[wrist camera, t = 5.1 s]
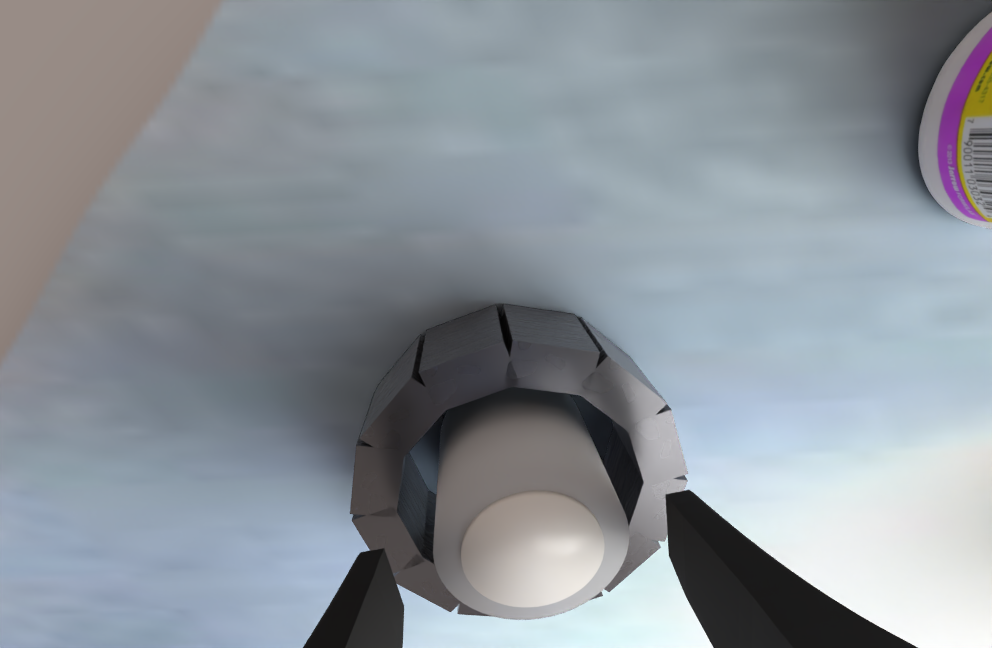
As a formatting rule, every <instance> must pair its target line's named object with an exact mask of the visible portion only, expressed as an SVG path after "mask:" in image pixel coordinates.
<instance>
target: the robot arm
mask: <svg viewBox="0 0 992 648" xmlns="http://www.w3.org/2000/svg"><path fill="white" fill-rule="evenodd" d="M665 498H666V515H667V531H668V548H669V557H670V559H671V562H672V564H673V567H674V569H675V572H676V574H677V576H678V579H679V581H680V584H681V586H682V588H683V591H684V593H685V595H686V597H687V599H688V601H689V603H690V605H691V607H692V609H693V611H694V612H695V614H696V616H697V618H698V620H699V622H700V623H701V625H702V627H703V629H704V631H705V633H706V635H707V636H708V638H709V640H710V642H711V644H712V645H713V647H714V648H917V647H916V646H914V645H912V644H910V643H908V642H906V641H904V640H903V639H901V638H899V637H897V636H895V635H893V634H892V633H890V632H888V631H886V630H884V629H882V628H880V627H879V626H877V625H875V624H873V623H872V622H870V621H868V620H866V619H865V618H863V617H861V616H859V615H858V614H856V613H854V612H853V611H851V610H850V609H848V608H846V607H845V606H843V605H842V604H840V603H838V602H837V601H835V600H834V599H832V598H830V597H829V596H827V595H826V594H824V593H823V592H821V591H820V590H818V589H817V588H815V587H814V586H812V585H811V584H809V583H808V582H806V581H805V580H803V579H802V578H801V577H799V576H798V575H796V574H795V573H794V572H792V571H791V570H789V569H788V568H786V567H785V566H784V565H782V564H781V563H780V562H778V561H777V560H776V559H774V558H773V557H771V556H770V555H769V554H768V553H766V552H765V551H764V550H762V549H761V548H760V547H758V546H757V545H756V544H755V543H753V542H752V541H751V540H749V539H748V538H747V537H746V536H744V535H743V534H742V533H741V532H739V531H738V530H737V529H736V528H734V527H733V526H732V525H731V524H730V523H728V522H727V521H726V520H725V519H724V518H722V517H721V516H720V515H719V514H718V513H716V512H715V511H714V510H713V509H712V508H711V507H709V506H708V505H707V504H706V503H705V502H704V501H702V500H701V499H700V498H699V497H698V496H697V495H695V494H694V493H693V492H692V491H690V490H686V491H680V492H675V493H670V494H665ZM403 622H404V605H403V602H402V599H401V596H400V593H399V590H398V587H397V584H396V581H395V578H394V575H393V572H392V569H391V567H390V564H389V561H388V558H387V555H386V552H385V549H384V548H382V549H377V550H371V551H366V552H361V553H360V554H359V555H358V557H357V558H356V560H355V562H354V563H353V565H352V567H351V569H350V570H349V572H348V574H347V576H346V577H345V579H344V581H343V583H342V584H341V586H340V588H339V590H338V591H337V593H336V595H335V596H334V598H333V600H332V602H331V603H330V605H329V607H328V608H327V610H326V612H325V613H324V615H323V616H322V618H321V620H320V621H319V623H318V624H317V626H316V628H315V629H314V631H313V633H312V634H311V636H310V637H309V639H308V640H307V642H306V644H305V645H304V647H303V648H402V645H403Z"/></svg>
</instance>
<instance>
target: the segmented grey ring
mask: <svg viewBox="0 0 992 648" xmlns="http://www.w3.org/2000/svg"><path fill="white" fill-rule="evenodd" d="M510 387H519V388H527V389H534V390H542V391H550V392H558V393H566V394H574V395H581V396H582V397H583V398H585V399H586V400H587V401H589V402H590V403H591V404H593V405H594V406H595V407H596V408H598V409H599V410H600V411H602V412H603V413H604V414H606V415H607V416H608V417H610V418H611V420H612V423H613V426H614V427H613V430H612V433H611V437H610V440H609V444H608V447H607V450H606V454H605V457H604V460H603V465H604V467H605V470H606V472H607V474H608V476H609V478H610V481H611V483H612V485H613V487H614V490H615V492H616V494H617V496H618V499H619V501H620V503H621V505H622V508H623V510H624V512H625V514H626V518H627V521H628V525H629V546H628V550H627V554H626V557H625V559H624V562H623V564H622V566H621V568H620V569H619V571H618V573H617V574H616V576H615V577H614V578H613V580H612V581H611V582H610V583H609V584H608V585H607V586H606V587H605V588H604V589H605V590H607V591H608V592H610V591H611V590H612V589H613V588H615V587H616V586H617V585H618V584H619V583H620V582H621V581H623V580H624V579H625V578H626V577H627V576H628V575H629V574H631V573H632V572H633V571H634V570H635V569H636V568H637V567H639V566H640V565H641V564H642V563H643V562H644V561H645V560H647V559H648V558H649V557H650V556H651V555H652V554H653V553H655V552H656V551H657V550H658V549H659V548H660V545H659V543H658V541H665V540H666V537H667V534H668V531H667V515H666V498H665V494H670V493H675V492H680V491H684V489H685V486H686V484H687V481H688V480H687V479H686V477H685V476H684V475H686V474H688V471H687V468H686V464H685V460H684V456H683V453H682V449H681V445H680V441H679V437H678V434H677V430H676V426H675V422H674V418H673V415H672V411H671V409H670V408H669V406H668V405H667V403H666V401H665V400H664V399H663V398H662V396H661V395H660V394H659V393H658V391H657V390H656V389H655V388H654V386H653V385H652V384H651V383H650V381H649V380H648V379H647V377H646V376H645V375H644V374H643V372H642V371H641V370H640V369H639V367H638V366H637V365H636V364H635V362H634V361H633V360H632V359H631V358H630V357H629V356H628V355H627V354H626V353H624V352H623V351H622V350H621V349H619V348H618V347H617V346H616V345H615V344H613V343H612V342H611V341H610V340H608V339H607V338H606V337H605V336H604V335H602V334H601V333H600V332H599V331H598V330H596V329H595V328H594V327H593V326H591V325H590V324H589V323H588V322H587V321H585V320H584V319H583V318H582V317H581V318H580V319H579V320H578V319H577V317H576V316H575V314H569V313H563V312H556V311H549V310H542V309H535V308H528V307H522V306H515V305H508V304H503V307H502V313H501V318H500V315H499V313H498V310H497V307H496V305H493V306H490V307H488V308H485V309H482V310H479V311H477V312H474V313H471V314H469V315H466V316H463V317H460V318H458V319H455V320H452V321H450V322H447V323H444V324H441V325H439V326H436V327H433V328H431V329H428V330H426V335H425V337H423V336H422V335H421V334H420V335H419V336H418V338H417V339H416V340H415V341H414V342H413V344H412V345H411V346H410V347H409V348H408V350H407V351H406V352H405V353H404V354H403V356H402V357H401V358H400V359H399V360H398V362H397V363H396V364H395V365H394V366H393V368H392V369H391V370H390V371H389V372H388V374H387V375H386V376H385V377H384V378H383V380H382V381H381V382H380V383H379V384H378V386H377V388H376V391H375V392H374V395H373V398H372V401H371V404H370V407H369V410H368V413H367V416H366V419H365V422H364V425H363V428H362V430H361V433H360V436H359V439H358V442H357V445H356V455H355V466H354V477H353V488H352V499H351V510H350V514H353V518H352V522H353V523H354V525H355V527H356V528H357V530H358V532H359V533H360V535H361V536H362V538H363V540H364V541H365V543H366V545H367V546H368V548H369V549H370V551H371V550H377V549H382V548H384V549H385V552H386V555H387V558H388V561H389V564H390V567H391V569H392V572H393V575H394V578H395V581H396V584H398V585H400V586H402V587H404V588H406V589H408V590H410V591H412V592H413V593H415V594H417V595H419V596H421V597H423V598H425V599H427V600H428V601H430V602H432V603H434V604H436V605H438V606H440V607H442V608H444V609H445V610H447V611H449V612H451V611H452V610H453V609H454V608H455V607H457V606H458V614H464V615H479V616H490V615H487V614H484V613H481V612H479V611H477V610H474V609H472V608H470V607H469V606H467V605H465V604H464V603H462V602H461V601H460V600H458V599H457V598H456V597H454V596H453V594H452V593H451V592H450V591H449V590H448V589H447V588H446V587H445V585H444V584H443V582H442V581H441V579H440V577H439V575H438V573H437V570H436V567H435V563H434V557H433V542H434V527H435V512H436V496H437V495H435V494H433V493H432V492H430V491H428V489H427V487H426V485H425V483H424V481H423V479H422V477H421V475H420V473H419V471H418V470H417V468H416V466H415V464H414V462H413V460H412V458H411V456H410V454H409V451H410V450H411V449H412V448H413V447H414V446H415V444H416V443H417V442H418V441H419V440H420V439H421V438H422V437H423V435H424V434H425V433H426V432H427V431H428V430H429V429H430V428H431V426H432V425H433V424H434V423H435V422H436V421H437V420H438V419H439V417H440V416H441V415H442V414H443V413H444V412H445V411H446V410H448V409H451V408H454V407H457V406H459V405H462V404H465V403H468V402H471V401H473V400H476V399H479V398H482V397H485V396H487V395H490V394H493V393H496V392H499V391H501V390H504V389H507V388H510ZM600 596H603V595H602V592H600V593H598V594H597V595H596V596H595V597H593V598H592V599H594V598H597V597H600ZM590 600H591V599H590Z"/></svg>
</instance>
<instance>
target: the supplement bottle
mask: <svg viewBox="0 0 992 648" xmlns="http://www.w3.org/2000/svg"><path fill="white" fill-rule="evenodd" d="M918 154H919V163H920V168H921V172H922V176H923V178H924V181H925V184H926V186H927V188H928V190H929V192H930V193H931V195H932V196H933V197H934V199H935V200H936V201H937V203H938V204H939V205H940V206H942V207H943V208H944V209H945V210H946V211H947V212H948V213H950V214H951V215H953V216H954V217H956V218H958V219H960V220H962V221H964V222H966V223H969V224H972V225H975V226H979V227H984V228H989V229H992V12H990V13H989V14H988V15H987V16H986V17H985V18H983V19H982V20H981V21H980V22H979V23H978V24H977V25H976V26H975V27H974V28H973V29H972V30H971V31H970V32H969V33H968V34H967V35H966V36H965V38H964V39H963V40H962V41H961V42H960V43H959V45H958V46H957V47H956V48H955V50H954V51H953V52H952V54H951V55H950V56H949V58H948V59H947V61H946V62H945V64H944V65H943V67H942V69H941V71H940V72H939V74H938V76H937V79H936V81H935V83H934V86H933V88H932V90H931V92H930V95H929V97H928V100H927V103H926V106H925V109H924V113H923V117H922V121H921V125H920V130H919V142H918Z"/></svg>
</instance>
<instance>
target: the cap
mask: <svg viewBox="0 0 992 648" xmlns="http://www.w3.org/2000/svg"><path fill="white" fill-rule="evenodd" d="M628 546H629V525H628V521H627V518H626V514H625V512H624V510H623V508H622V505H621V503H620V501H619V499H618V496H617V494H616V492H615V490H614V487H613V485H612V483H611V481H610V478H609V476H608V474H607V472H606V470H605V467H604V465H603V463H602V461H601V458H600V456H599V454H598V452H597V449H596V447H595V445H594V443H593V440H592V438H591V436H590V434H589V431H588V429H587V427H586V425H585V422H584V420H583V418H582V416H581V413H580V411H579V409H578V407H577V405H576V403H575V402H574V400H573V399H572V397H571V396H570V395H569V394H566V393H558V392H550V391H542V390H534V389H527V388H519V387H510V388H507V389H504V390H501V391H499V392H496V393H493V394H490V395H487V396H485V397H482V398H479V399H476V400H473V401H471V402H468V403H465V404H462V405H459V406H457V407H454V408H451V409H448V410H447V412H446V414H445V417H444V419H443V422H442V427H441V435H440V450H439V466H438V481H437V496H436V512H435V527H434V542H433V557H434V563H435V567H436V570H437V573H438V575H439V577H440V579H441V581H442V582H443V584H444V585H445V587H446V588H447V589H448V590H449V591H450V592H451V593H452V594H453V596H454V597H456V598H457V599H458V600H460V601H461V602H462V603H464V604H465V605H467V606H469V607H470V608H472V609H474V610H477V611H479V612H481V613H484V614H487V615H490V616H494V617H499V618H504V619H514V620H530V619H540V618H545V617H550V616H554V615H558V614H561V613H564V612H567V611H569V610H572V609H574V608H576V607H578V606H580V605H582V604H584V603H586V602H587V601H589V600H590V599H592V598H593V597H595V596H596V595H597V594H598V593H600V592H601V591H602V590H603V589H604V588H605V587H606V586H607V585H608V584H609V583H610V582H611V581H612V580H613V578H614V577H615V576H616V574H617V573H618V571H619V569H620V568H621V566H622V564H623V562H624V559H625V557H626V554H627V550H628Z"/></svg>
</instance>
